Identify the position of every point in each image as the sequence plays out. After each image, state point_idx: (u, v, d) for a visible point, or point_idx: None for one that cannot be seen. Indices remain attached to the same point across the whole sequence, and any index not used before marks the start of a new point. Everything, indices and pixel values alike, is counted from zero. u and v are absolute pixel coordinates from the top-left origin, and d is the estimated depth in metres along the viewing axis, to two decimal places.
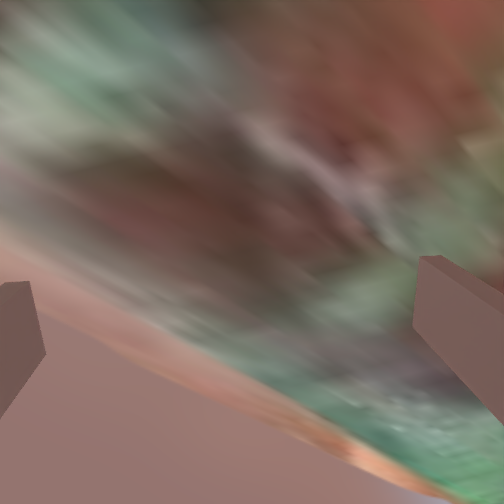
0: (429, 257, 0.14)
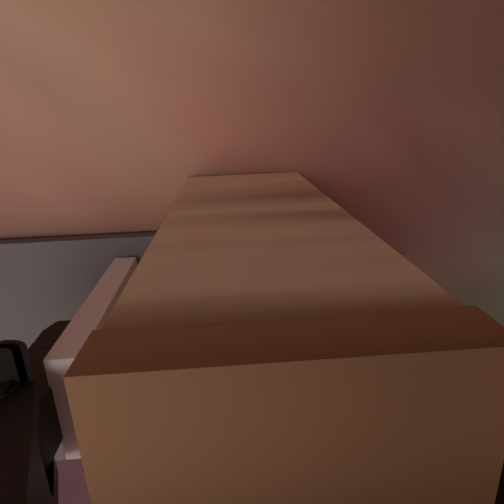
0: None
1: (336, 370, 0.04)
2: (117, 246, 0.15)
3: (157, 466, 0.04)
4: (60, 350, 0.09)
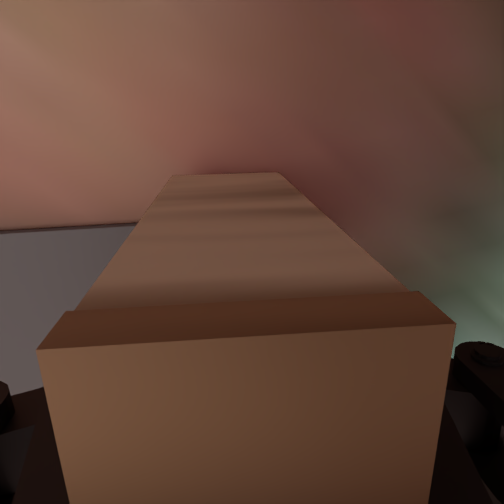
0: None
1: (284, 345, 0.04)
2: (110, 234, 0.19)
3: (122, 434, 0.04)
4: None
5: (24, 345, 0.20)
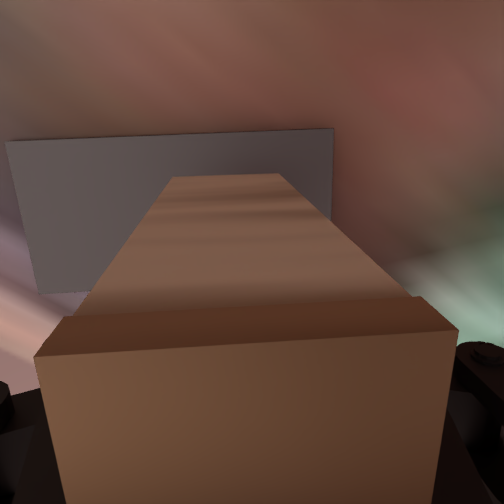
0: None
1: (285, 352, 0.04)
2: (306, 135, 0.25)
3: (122, 441, 0.04)
4: None
5: None
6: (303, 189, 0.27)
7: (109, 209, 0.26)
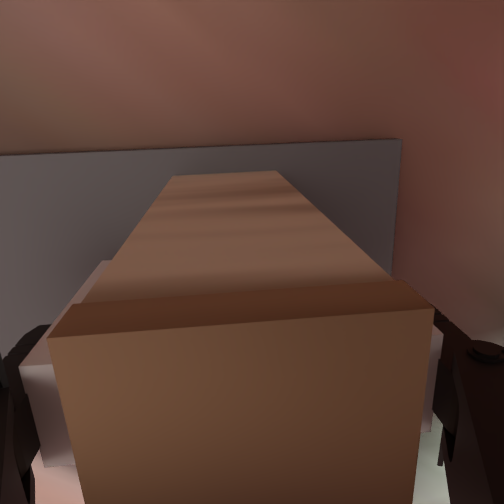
0: None
1: (275, 331, 0.04)
2: (357, 149, 0.16)
3: (128, 416, 0.05)
4: (37, 356, 0.09)
5: None
6: (350, 234, 0.17)
7: (42, 268, 0.16)
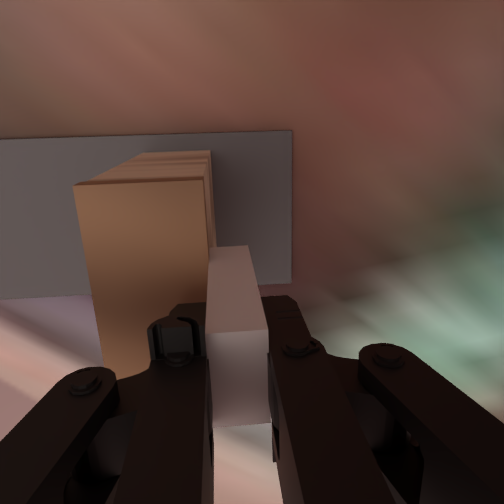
0: (235, 247, 0.15)
1: (148, 186, 0.13)
2: (263, 137, 0.24)
3: (99, 216, 0.13)
4: (215, 325, 0.10)
5: None
6: (262, 193, 0.26)
7: (58, 212, 0.25)
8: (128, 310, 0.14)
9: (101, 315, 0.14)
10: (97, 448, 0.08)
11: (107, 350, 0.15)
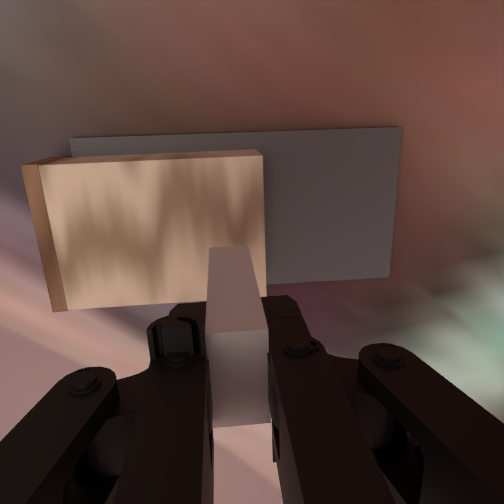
0: (235, 247, 0.15)
1: None
2: (374, 133, 0.25)
3: None
4: (215, 325, 0.10)
5: (295, 221, 0.26)
6: (368, 189, 0.26)
7: None
8: None
9: None
10: (97, 448, 0.08)
11: None
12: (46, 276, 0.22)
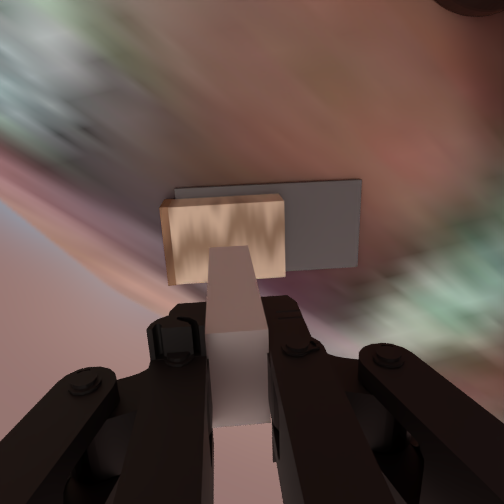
0: (235, 247, 0.15)
1: None
2: (345, 183, 0.44)
3: None
4: (215, 325, 0.10)
5: (300, 234, 0.45)
6: (343, 215, 0.45)
7: None
8: None
9: None
10: (97, 448, 0.08)
11: None
12: (166, 266, 0.41)
